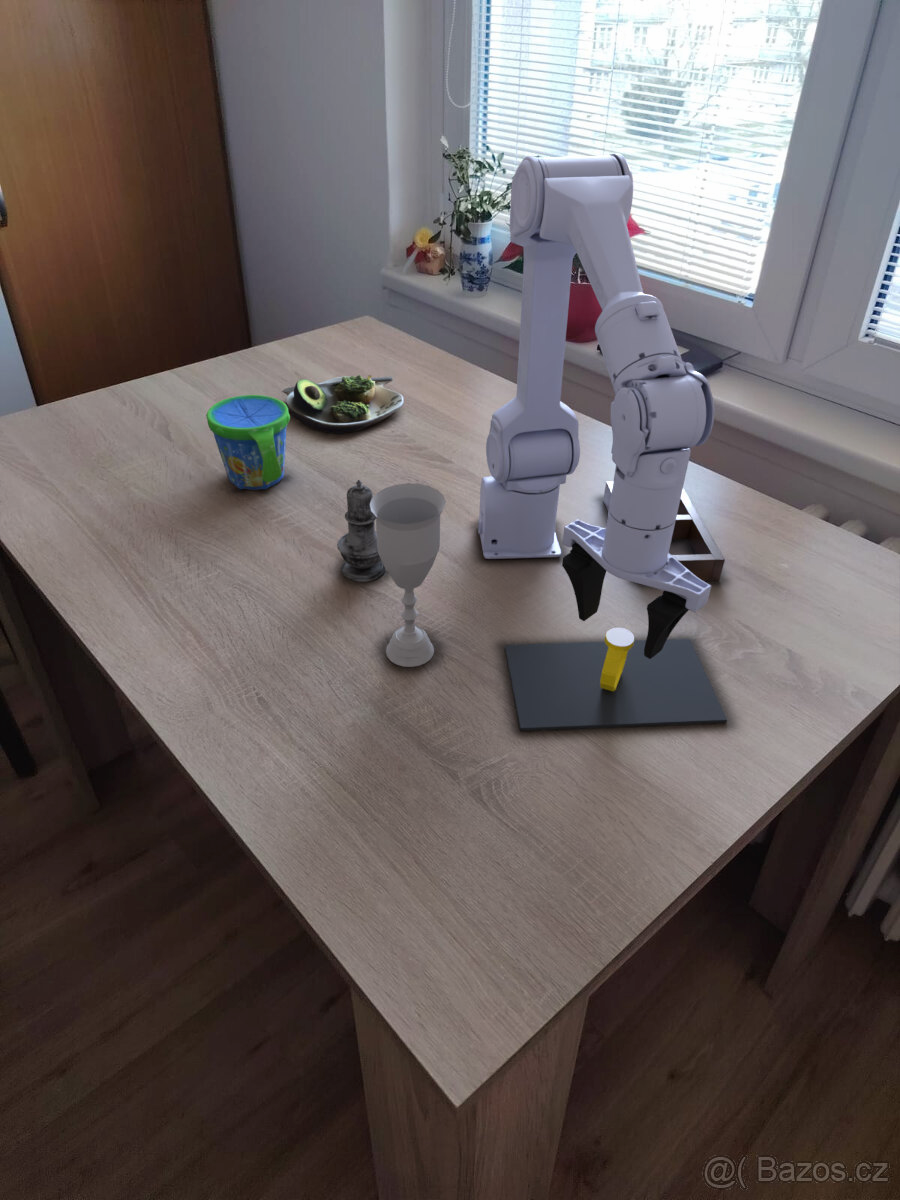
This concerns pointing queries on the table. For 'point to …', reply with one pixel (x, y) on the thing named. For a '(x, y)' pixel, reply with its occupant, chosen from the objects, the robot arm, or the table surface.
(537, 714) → the mat
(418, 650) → the chalice
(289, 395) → the avocado toast plate
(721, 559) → the compartment tray
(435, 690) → the table surface
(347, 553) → the salt shaker
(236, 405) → the snack cup
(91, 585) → the table surface
